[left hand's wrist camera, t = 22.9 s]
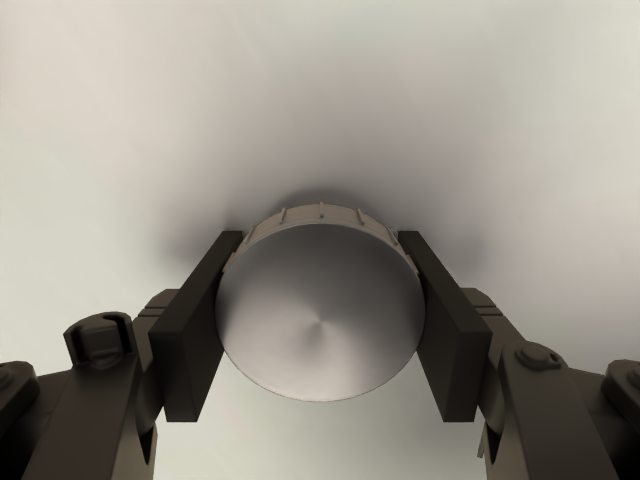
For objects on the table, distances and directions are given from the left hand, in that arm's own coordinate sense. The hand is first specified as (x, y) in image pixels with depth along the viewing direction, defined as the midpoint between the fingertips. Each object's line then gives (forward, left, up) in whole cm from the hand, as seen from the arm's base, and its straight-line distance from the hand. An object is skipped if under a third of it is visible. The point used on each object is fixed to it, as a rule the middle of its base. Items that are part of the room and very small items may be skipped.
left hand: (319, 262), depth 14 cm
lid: (0, 0, +4) cm, 4 cm away
